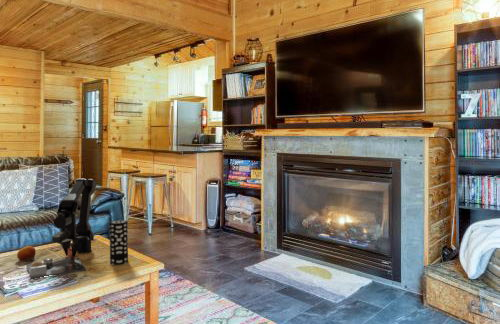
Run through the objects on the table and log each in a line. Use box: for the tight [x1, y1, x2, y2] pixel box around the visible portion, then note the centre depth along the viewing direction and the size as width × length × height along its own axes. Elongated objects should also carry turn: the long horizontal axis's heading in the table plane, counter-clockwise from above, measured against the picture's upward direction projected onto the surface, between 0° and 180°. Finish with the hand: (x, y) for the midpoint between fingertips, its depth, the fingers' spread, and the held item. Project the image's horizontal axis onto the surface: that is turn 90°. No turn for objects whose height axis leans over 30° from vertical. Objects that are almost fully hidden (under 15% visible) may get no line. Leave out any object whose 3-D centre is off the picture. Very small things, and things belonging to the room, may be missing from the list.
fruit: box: [16, 245, 37, 262], centre depth 195 cm, size 8×8×8 cm
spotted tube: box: [109, 219, 129, 266], centre depth 191 cm, size 8×8×20 cm
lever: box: [41, 246, 76, 267], centre depth 185 cm, size 20×4×6 cm, turn 149°
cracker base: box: [26, 256, 87, 280], centre depth 182 cm, size 22×22×4 cm
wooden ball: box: [31, 260, 44, 267], centre depth 173 cm, size 5×5×5 cm
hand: (70, 256), depth 192 cm, fingers open, 4 cm apart
